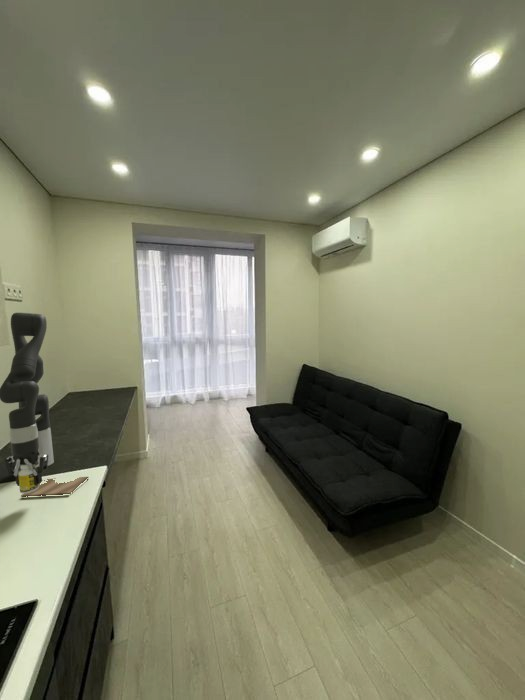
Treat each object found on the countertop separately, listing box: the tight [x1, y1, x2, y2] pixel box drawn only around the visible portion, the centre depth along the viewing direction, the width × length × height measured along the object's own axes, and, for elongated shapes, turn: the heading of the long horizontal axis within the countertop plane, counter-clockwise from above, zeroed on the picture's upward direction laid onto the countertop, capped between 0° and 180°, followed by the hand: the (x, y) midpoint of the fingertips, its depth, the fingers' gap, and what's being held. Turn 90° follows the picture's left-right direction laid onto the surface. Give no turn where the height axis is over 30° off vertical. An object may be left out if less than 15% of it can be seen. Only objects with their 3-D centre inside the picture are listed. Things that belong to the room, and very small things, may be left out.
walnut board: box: [20, 476, 89, 498], centre depth 114 cm, size 18×12×1 cm, turn 91°
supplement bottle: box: [18, 464, 39, 494], centre depth 102 cm, size 5×5×10 cm
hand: (29, 484), depth 103 cm, fingers closed on supplement bottle, 5 cm apart
